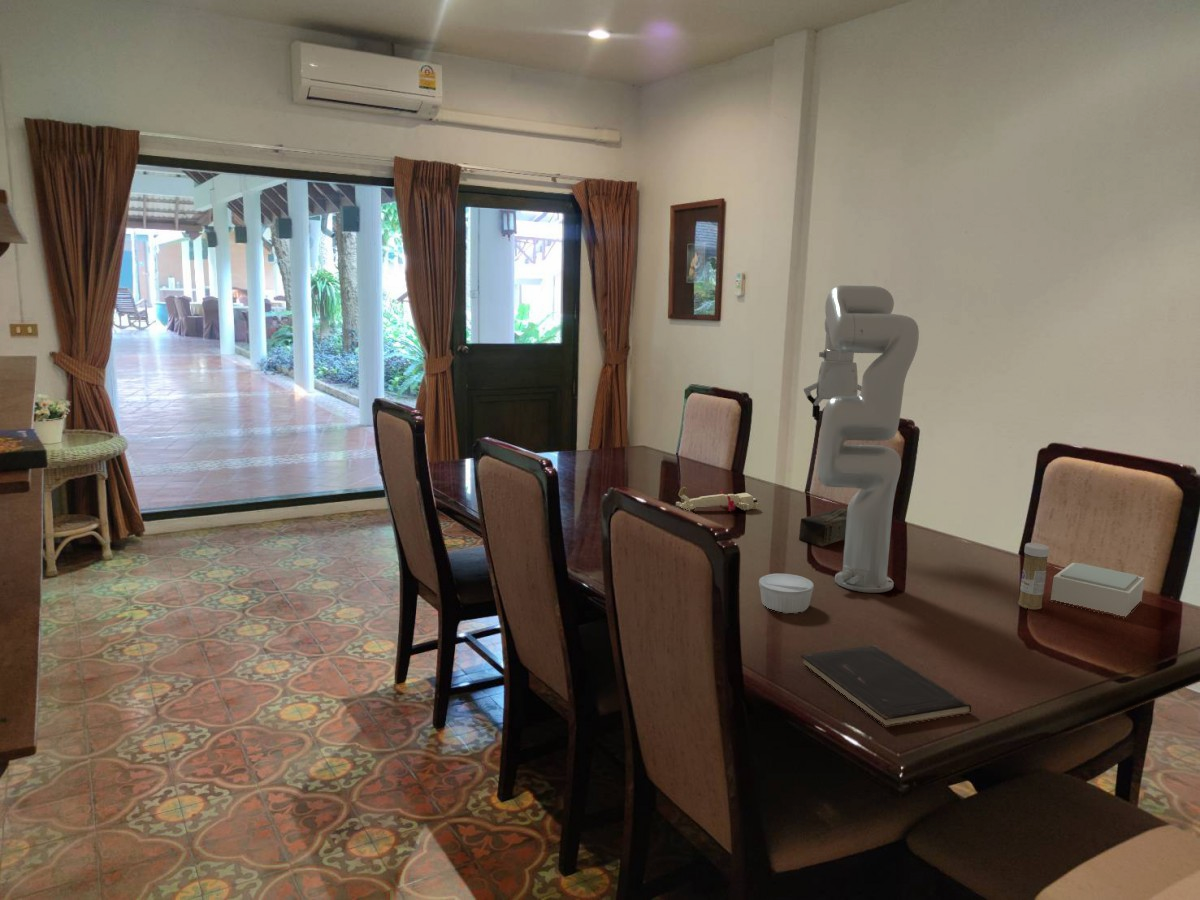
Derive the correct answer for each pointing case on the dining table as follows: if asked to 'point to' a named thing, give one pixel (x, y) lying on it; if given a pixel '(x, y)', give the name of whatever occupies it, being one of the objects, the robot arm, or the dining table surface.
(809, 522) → the beverage carton
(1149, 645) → the dining table surface
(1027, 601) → the sprinkles bottle
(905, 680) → the hardcover book
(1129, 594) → the white rimmed tray
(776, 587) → the ramekin
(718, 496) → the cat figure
